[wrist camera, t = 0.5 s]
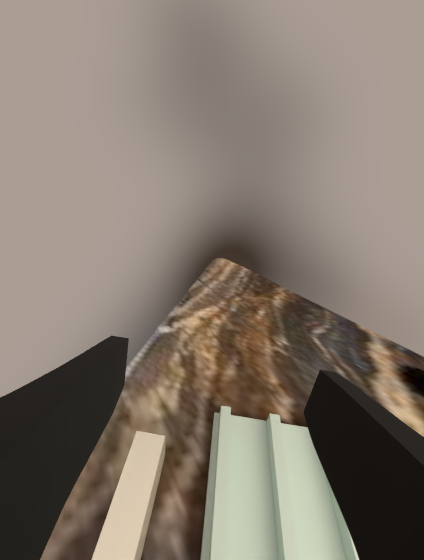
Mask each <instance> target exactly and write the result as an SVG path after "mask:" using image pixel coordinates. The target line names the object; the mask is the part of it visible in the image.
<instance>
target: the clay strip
mask: <svg viewBox="0 0 424 560" xmlns="http://www.w3.org/2000/svg"><path fill="white" fill-rule="evenodd" d="M164 458H165V436H163V435H158V434H152V433H146V432H140V431H136V434H135V437H134V440H133V443H132V445H131V448H130V451H129V454H128V457H127V460H126V463H125V466H124V468H123V471H122V474H121V477H120V480H119V483H118V486H117V488H116V491H115V494H114V497H113V500H112V503H111V506H110V508H109V511H108V514H107V517H106V520H105V523H104V526H103V528H102V531H101V534H100V537H99V540H98V543H97V546H96V549H95V551H94V554H93V557H92V560H140V559H141V555H142V551H143V547H144V542H145V538H146V534H147V530H148V525H149V521H150V517H151V513H152V509H153V504H154V500H155V496H156V492H157V487H158V483H159V479H160V475H161V470H162V466H163V462H164Z"/></svg>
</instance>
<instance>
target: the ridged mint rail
mask: <svg viewBox="0 0 424 560" xmlns="http://www.w3.org/2000/svg"><path fill="white" fill-rule="evenodd" d="M200 560H359V558H358V555H357V552H356V549H355V546H354V543H353V540H352V538H351V535H350V533H349V530H348V527H347V525H346V522H345V520H344V517H343V515H342V513H341V510H340V508H339V506H338V503H337V501H336V498H335V496H334V494H333V491H332V489H331V487H330V484H329V482H328V479H327V477H326V475H325V472H324V470H323V467H322V465H321V463H320V460H319V458H318V455H317V453H316V450H315V448H314V445H313V443H312V440H311V437H310V433H309V430H308V427H302V426H295V425H289V424H283V423H281V421H280V415H276V414H269V416H268V418H267V421H265V420H259V419H253V418H246V417H240V416H234V415H231V407H227V406H221V409H220V413H216V412H215V414H214V419H213V430H212V441H211V452H210V462H209V473H208V484H207V494H206V505H205V516H204V526H203V537H202V548H201V558H200Z"/></svg>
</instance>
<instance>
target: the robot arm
mask: <svg viewBox="0 0 424 560" xmlns="http://www.w3.org/2000/svg"><path fill="white" fill-rule="evenodd" d="M127 350H128V338H122V337H116V336H110V337H109V338H107V339H105V340H104V341H102V342H100V343H99V344H97V345H95V346H94V347H92V348H90V349H89V350H87V351H85V352H84V353H82V354H81V355H79V356H77V357H75V358H74V359H72V360H70V361H69V362H67V363H65V364H64V365H62V366H60V367H58V368H56V369H55V370H53V371H51V372H49V373H47V374H45V375H43V376H42V377H40V378H38V379H36V380H34V381H32V382H30V383H29V384H27V385H25V386H23V387H21V388H19V389H17V390H15V391H13V392H11V393H9V394H7V395H5V396H3V397H1V398H0V560H40V558H41V556H42V554H43V551H44V549H45V547H46V545H47V542H48V540H49V538H50V536H51V533H52V531H53V529H54V527H55V524H56V522H57V520H58V518H59V515H60V513H61V511H62V509H63V507H64V505H65V503H66V501H67V499H68V497H69V495H70V493H71V491H72V489H73V487H74V485H75V483H76V481H77V479H78V477H79V476H80V474H81V472H82V470H83V468H84V466H85V464H86V463H87V461H88V459H89V457H90V455H91V453H92V451H93V449H94V448H95V446H96V444H97V442H98V440H99V438H100V436H101V435H102V433H103V431H104V429H105V427H106V425H107V423H108V421H109V419H110V417H111V416H112V414H113V411H114V409H115V407H116V404H117V402H118V399H119V397H120V394H121V392H122V389H123V387H124V382H125V371H126V361H127ZM304 415H305V419H306V423H307V427H308V430H309V433H310V437H311V440H312V443H313V445H314V448H315V450H316V453H317V455H318V458H319V460H320V463H321V465H322V467H323V470H324V472H325V475H326V477H327V479H328V482H329V484H330V487H331V489H332V491H333V494H334V496H335V498H336V501H337V503H338V506H339V508H340V510H341V513H342V515H343V517H344V520H345V522H346V525H347V527H348V530H349V533H350V535H351V538H352V540H353V543H354V546H355V549H356V552H357V555H358V558H359V560H424V437H423V436H421V435H420V434H418V433H417V432H416V431H414V430H413V429H412V428H410V427H409V426H408V425H406V424H405V423H404V422H402V421H401V420H400V419H398V418H397V417H396V416H394V415H393V414H392V413H390V412H389V411H388V410H386V409H385V408H384V407H382V406H381V405H380V404H378V403H377V402H376V401H375V400H373V399H372V398H371V397H369V396H368V395H367V394H365V393H364V392H363V391H361V390H360V389H359V388H357V387H356V386H355V385H353V384H352V383H351V382H349V381H348V380H346V379H345V378H344V377H342V376H341V375H339V374H337V373H336V372H330V371H324V370H320V371H319V374H318V377H317V379H316V382H315V384H314V387H313V389H312V392H311V394H310V397H309V399H308V402H307V405H306V407H305V410H304Z"/></svg>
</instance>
